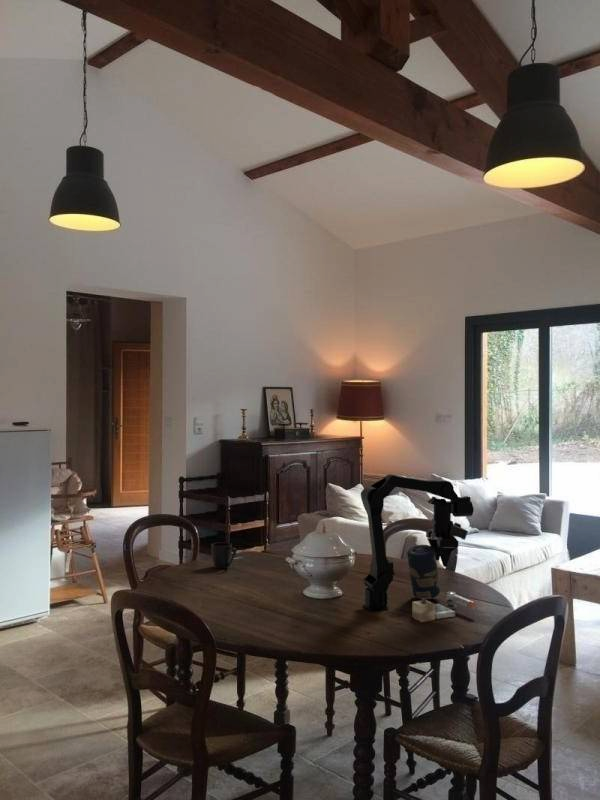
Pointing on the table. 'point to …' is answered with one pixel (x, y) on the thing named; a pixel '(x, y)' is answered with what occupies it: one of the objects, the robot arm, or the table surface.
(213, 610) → the table surface
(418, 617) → the block
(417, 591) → the canister
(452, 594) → the lever
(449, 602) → the grey metal flanged disc
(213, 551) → the mug
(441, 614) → the plate
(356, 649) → the table surface
